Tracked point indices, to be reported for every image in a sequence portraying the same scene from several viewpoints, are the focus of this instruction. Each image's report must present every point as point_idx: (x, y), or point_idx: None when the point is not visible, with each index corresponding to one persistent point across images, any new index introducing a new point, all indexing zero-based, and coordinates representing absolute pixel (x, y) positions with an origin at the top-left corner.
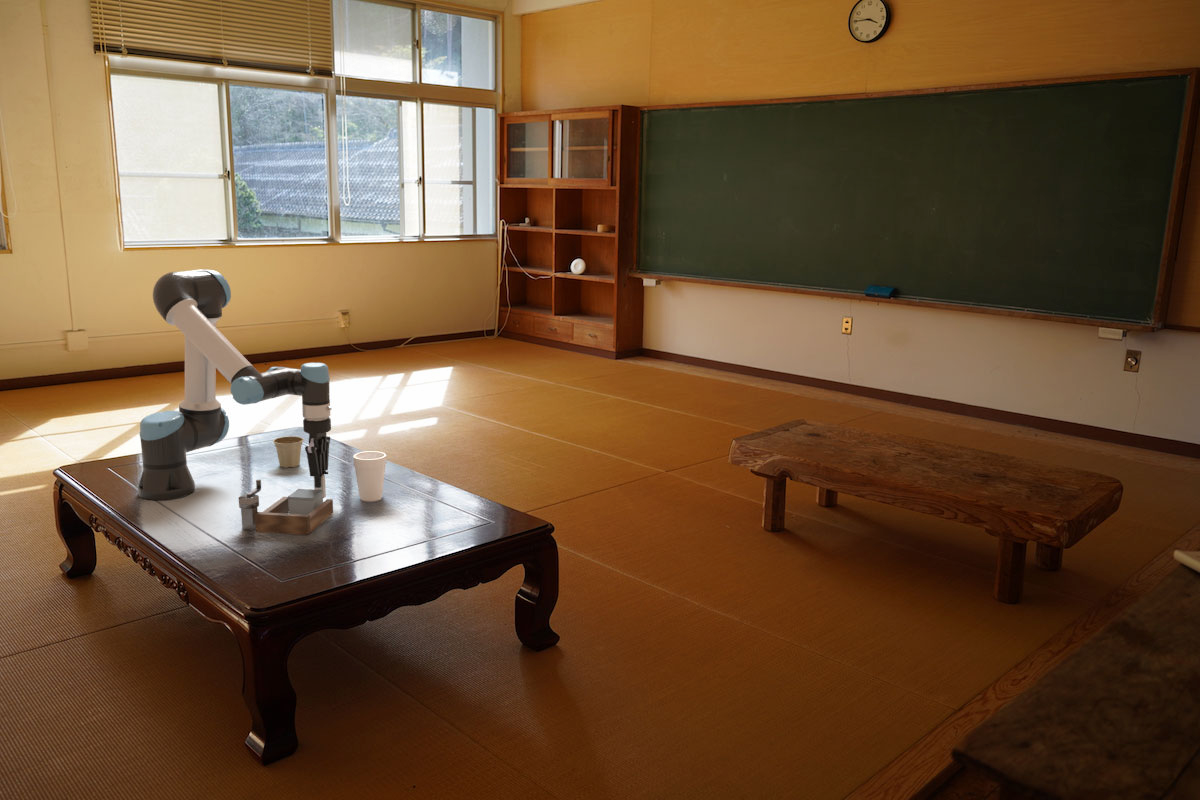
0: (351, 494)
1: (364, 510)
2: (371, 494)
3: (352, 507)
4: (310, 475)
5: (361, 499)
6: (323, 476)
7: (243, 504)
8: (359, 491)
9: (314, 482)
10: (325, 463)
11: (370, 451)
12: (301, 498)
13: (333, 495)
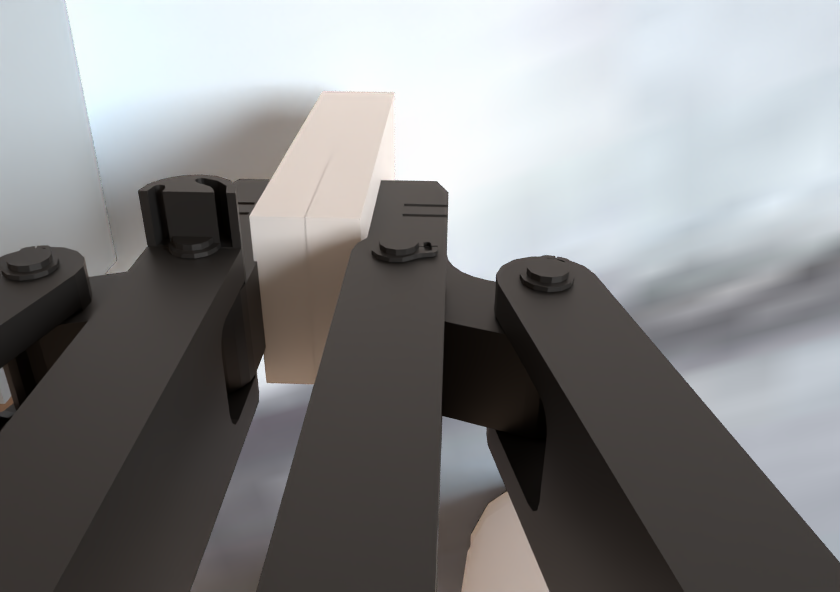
0: (685, 367)
1: (227, 575)
2: None
3: (276, 478)
4: (3, 261)
5: (502, 498)
6: (294, 379)
7: None
8: (510, 547)
9: (277, 174)
10: (520, 499)
11: None
12: None
13: (644, 194)
